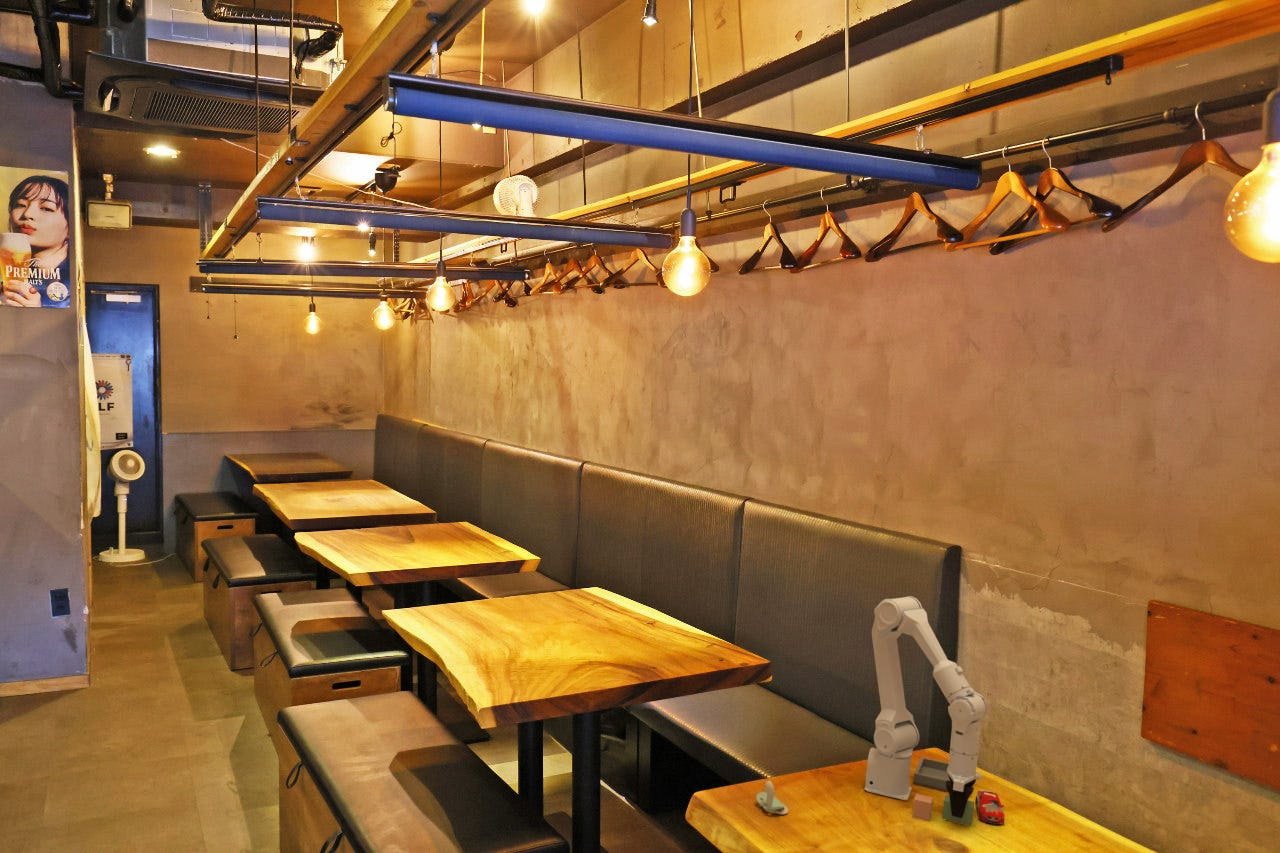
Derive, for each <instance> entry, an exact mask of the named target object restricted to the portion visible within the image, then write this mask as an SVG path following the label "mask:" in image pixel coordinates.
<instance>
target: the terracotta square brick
mask: <svg viewBox="0 0 1280 853" xmlns="http://www.w3.org/2000/svg"><path fill="white" fill-rule="evenodd" d="M933 802H934V798H933V797H932V796H928V795H924V794H920V793H916V794H915V796H914V798H913V808H912V818H913V819H917V820H922V821H926V822H930V821H931V817H932V812H933Z"/></svg>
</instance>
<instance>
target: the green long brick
mask: <svg viewBox="0 0 1280 853" xmlns="http://www.w3.org/2000/svg"><path fill="white" fill-rule="evenodd" d="M943 799H944V800H943V804H942V805H943V807H942V816H941V819H942V820H944V819H946V820H945V821H948V822H953V823H956V824H961V825H964V826H968V827H972V826H973V820H974V812H975V811H974V810H975V801H972V800H969V799H968V801H967V803H966V807H965V811H964V814H963V817H962V818H959V817H955V816H952V813H951V804H950V797H949V795H947V794H945V796H944V798H943Z"/></svg>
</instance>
